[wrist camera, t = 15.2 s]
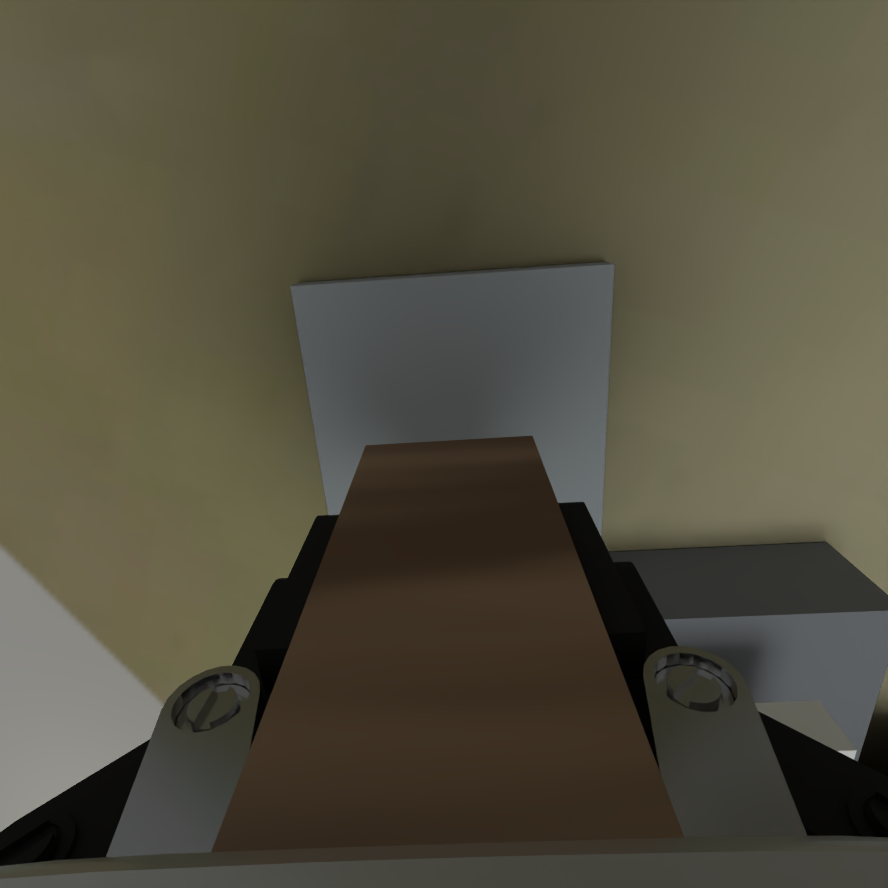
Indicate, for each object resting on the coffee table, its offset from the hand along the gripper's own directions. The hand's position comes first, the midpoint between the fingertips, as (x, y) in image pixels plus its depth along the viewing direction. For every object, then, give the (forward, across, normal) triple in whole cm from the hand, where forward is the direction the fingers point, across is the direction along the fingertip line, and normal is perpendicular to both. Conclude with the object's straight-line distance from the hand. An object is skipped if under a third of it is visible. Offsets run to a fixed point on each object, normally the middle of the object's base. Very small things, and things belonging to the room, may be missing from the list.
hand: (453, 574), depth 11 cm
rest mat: (+9, 0, 0) cm, 9 cm away
